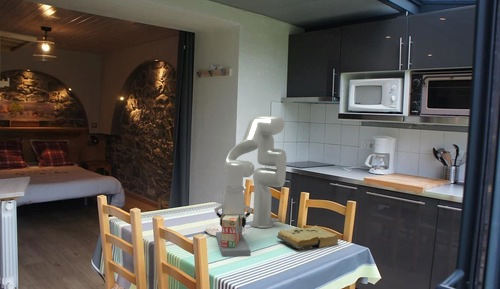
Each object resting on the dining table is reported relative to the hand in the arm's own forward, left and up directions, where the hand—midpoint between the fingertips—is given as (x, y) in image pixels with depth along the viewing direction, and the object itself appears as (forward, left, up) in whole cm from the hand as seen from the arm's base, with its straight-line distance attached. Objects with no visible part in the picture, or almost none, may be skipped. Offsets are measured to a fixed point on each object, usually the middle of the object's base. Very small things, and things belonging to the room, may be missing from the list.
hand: (232, 226), depth 173 cm
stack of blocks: (0, -1, -6) cm, 7 cm away
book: (-36, -1, -9) cm, 38 cm away
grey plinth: (0, 0, -9) cm, 9 cm away
